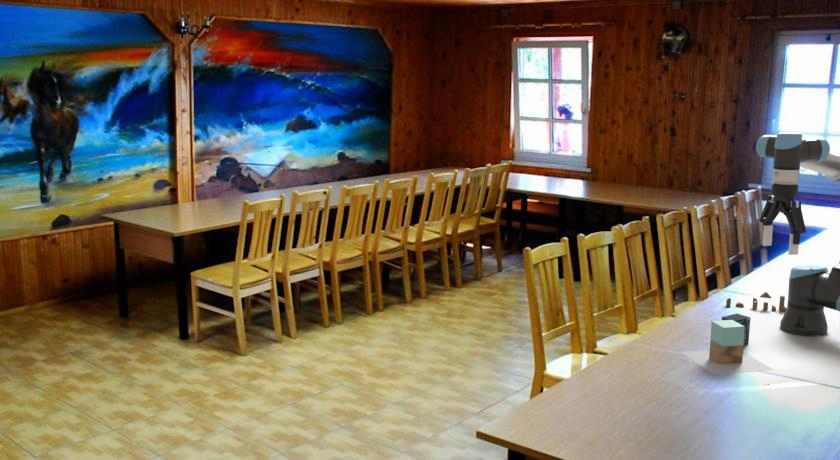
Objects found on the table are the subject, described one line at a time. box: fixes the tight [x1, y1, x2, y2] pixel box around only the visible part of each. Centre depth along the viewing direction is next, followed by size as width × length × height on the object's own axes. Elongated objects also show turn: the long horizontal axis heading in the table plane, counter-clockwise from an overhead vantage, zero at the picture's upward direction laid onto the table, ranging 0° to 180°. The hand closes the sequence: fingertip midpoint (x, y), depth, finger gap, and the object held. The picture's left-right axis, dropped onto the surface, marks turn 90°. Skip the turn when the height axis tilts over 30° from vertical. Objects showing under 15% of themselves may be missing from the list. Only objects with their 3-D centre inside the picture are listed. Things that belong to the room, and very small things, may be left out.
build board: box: [680, 349, 775, 375], centre depth 253 cm, size 20×20×1 cm
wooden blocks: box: [725, 291, 787, 313], centre depth 311 cm, size 30×3×7 cm, turn 70°
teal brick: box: [709, 319, 745, 347], centre depth 251 cm, size 7×7×6 cm
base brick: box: [709, 339, 745, 364], centre depth 252 cm, size 8×6×6 cm
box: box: [721, 313, 751, 346], centre depth 268 cm, size 8×6×11 cm
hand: (779, 249), depth 254 cm, fingers open, 13 cm apart
